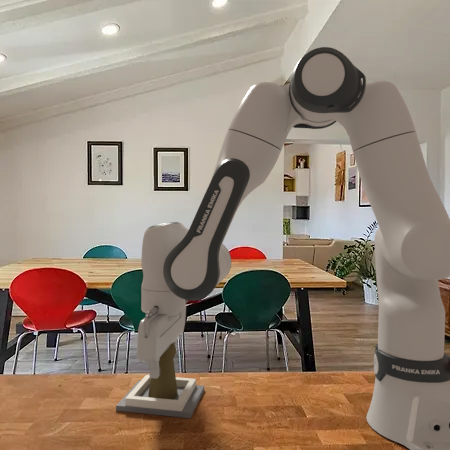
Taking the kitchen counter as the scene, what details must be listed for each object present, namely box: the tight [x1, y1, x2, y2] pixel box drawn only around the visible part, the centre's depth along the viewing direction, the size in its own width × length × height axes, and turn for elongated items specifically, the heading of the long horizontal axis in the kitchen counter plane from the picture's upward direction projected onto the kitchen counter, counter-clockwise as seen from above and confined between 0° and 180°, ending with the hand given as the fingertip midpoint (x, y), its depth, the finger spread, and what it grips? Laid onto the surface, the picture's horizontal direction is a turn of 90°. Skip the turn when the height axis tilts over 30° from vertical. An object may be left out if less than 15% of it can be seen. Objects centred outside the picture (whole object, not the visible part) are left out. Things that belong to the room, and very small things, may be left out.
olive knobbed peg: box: [148, 343, 178, 400], centre depth 83 cm, size 6×6×11 cm
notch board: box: [115, 374, 205, 419], centre depth 83 cm, size 15×12×2 cm
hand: (162, 367), depth 83 cm, fingers open, 8 cm apart
